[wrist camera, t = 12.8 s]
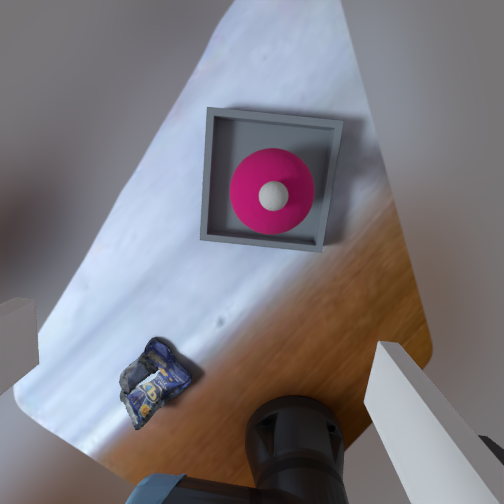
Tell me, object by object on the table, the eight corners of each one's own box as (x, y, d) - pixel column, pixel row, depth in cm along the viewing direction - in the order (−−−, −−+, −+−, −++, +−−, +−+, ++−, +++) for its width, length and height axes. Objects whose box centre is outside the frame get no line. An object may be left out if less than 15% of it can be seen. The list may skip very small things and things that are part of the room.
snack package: (102, 347, 44) (128, 411, 47) (83, 371, 38) (115, 444, 41) (179, 324, 45) (201, 388, 48) (174, 344, 39) (199, 417, 42)
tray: (317, 246, 39) (321, 252, 36) (204, 235, 39) (199, 240, 36) (336, 125, 35) (343, 120, 32) (211, 112, 35) (207, 106, 32)
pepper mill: (290, 146, 35) (326, 115, 16) (301, 206, 37) (346, 243, 18) (231, 160, 36) (197, 147, 16) (245, 218, 37) (228, 268, 18)
